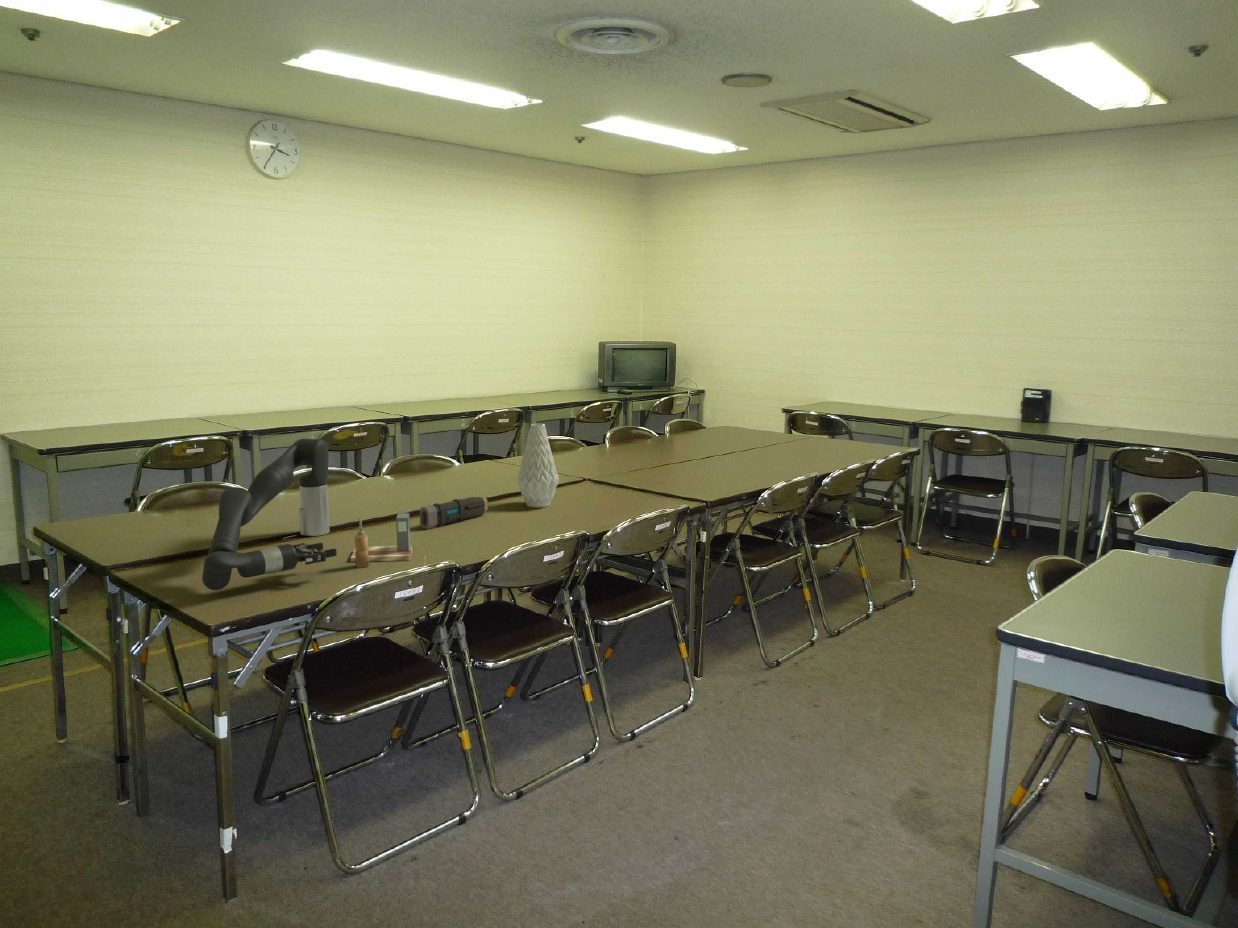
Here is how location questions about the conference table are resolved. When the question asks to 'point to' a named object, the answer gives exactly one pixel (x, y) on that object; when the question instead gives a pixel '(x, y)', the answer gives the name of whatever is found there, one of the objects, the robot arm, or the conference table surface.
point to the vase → (537, 469)
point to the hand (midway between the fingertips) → (329, 548)
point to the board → (386, 554)
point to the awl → (361, 548)
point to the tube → (452, 511)
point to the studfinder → (403, 531)
